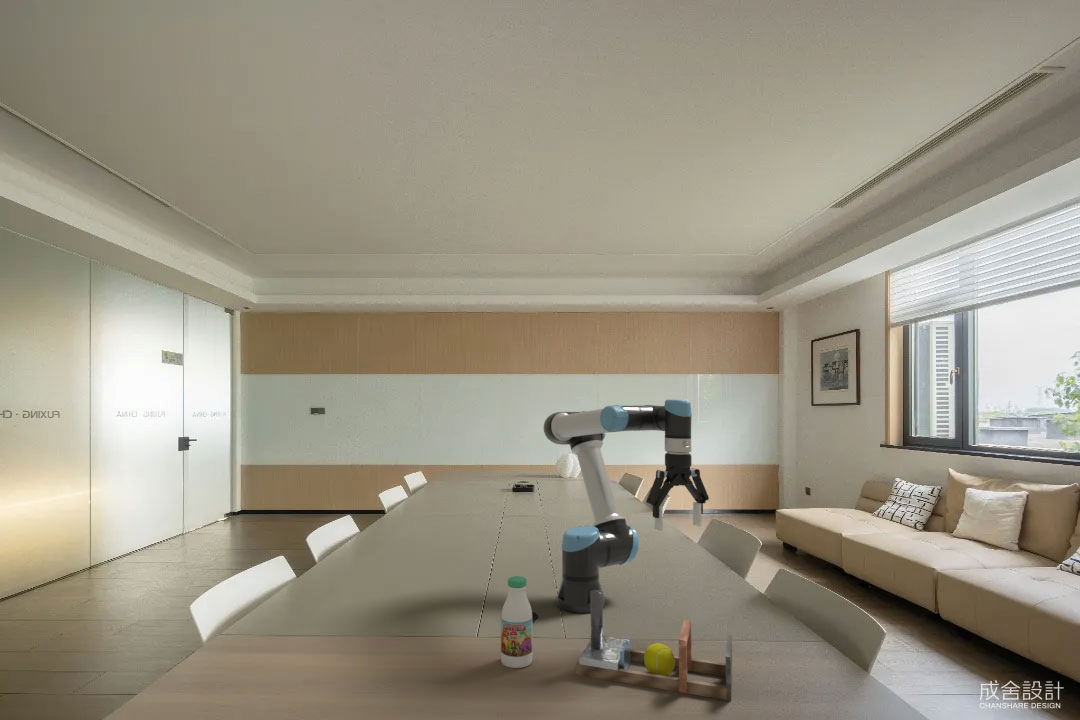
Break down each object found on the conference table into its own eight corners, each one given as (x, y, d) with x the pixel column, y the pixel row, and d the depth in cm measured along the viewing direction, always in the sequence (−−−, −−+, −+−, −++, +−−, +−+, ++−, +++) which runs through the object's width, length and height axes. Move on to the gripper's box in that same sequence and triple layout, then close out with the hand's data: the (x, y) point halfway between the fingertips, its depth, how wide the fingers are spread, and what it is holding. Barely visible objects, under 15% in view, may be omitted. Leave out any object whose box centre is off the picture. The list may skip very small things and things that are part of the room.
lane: (575, 674, 133) (575, 625, 134) (589, 652, 145) (589, 607, 146) (731, 701, 121) (730, 646, 122) (732, 674, 133) (731, 625, 134)
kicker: (579, 674, 132) (579, 599, 133) (593, 650, 145) (593, 582, 146) (621, 681, 129) (621, 605, 130) (632, 656, 142) (632, 587, 143)
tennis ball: (638, 671, 134) (638, 641, 135) (663, 666, 137) (662, 636, 138) (655, 685, 128) (655, 653, 129) (681, 679, 131) (680, 648, 131)
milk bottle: (500, 655, 143) (501, 574, 144) (531, 654, 144) (531, 573, 145) (501, 669, 135) (501, 583, 137) (533, 668, 136) (533, 582, 137)
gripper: (649, 455, 156) (649, 534, 154) (720, 452, 166) (721, 526, 165) (634, 452, 163) (634, 528, 161) (703, 450, 173) (704, 521, 171)
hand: (678, 527), depth 163 cm, fingers open, 13 cm apart
